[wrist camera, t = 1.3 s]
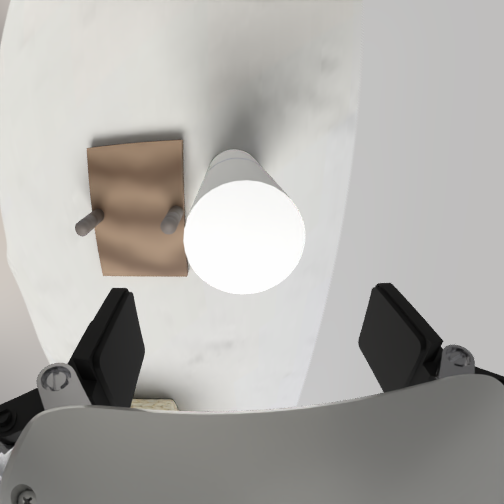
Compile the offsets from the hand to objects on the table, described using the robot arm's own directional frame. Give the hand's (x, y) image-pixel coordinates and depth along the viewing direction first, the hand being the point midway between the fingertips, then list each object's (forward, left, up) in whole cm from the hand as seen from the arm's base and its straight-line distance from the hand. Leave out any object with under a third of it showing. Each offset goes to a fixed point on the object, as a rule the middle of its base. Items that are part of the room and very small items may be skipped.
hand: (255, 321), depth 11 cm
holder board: (+5, -14, -32) cm, 35 cm away
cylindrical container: (0, 0, -32) cm, 32 cm away
